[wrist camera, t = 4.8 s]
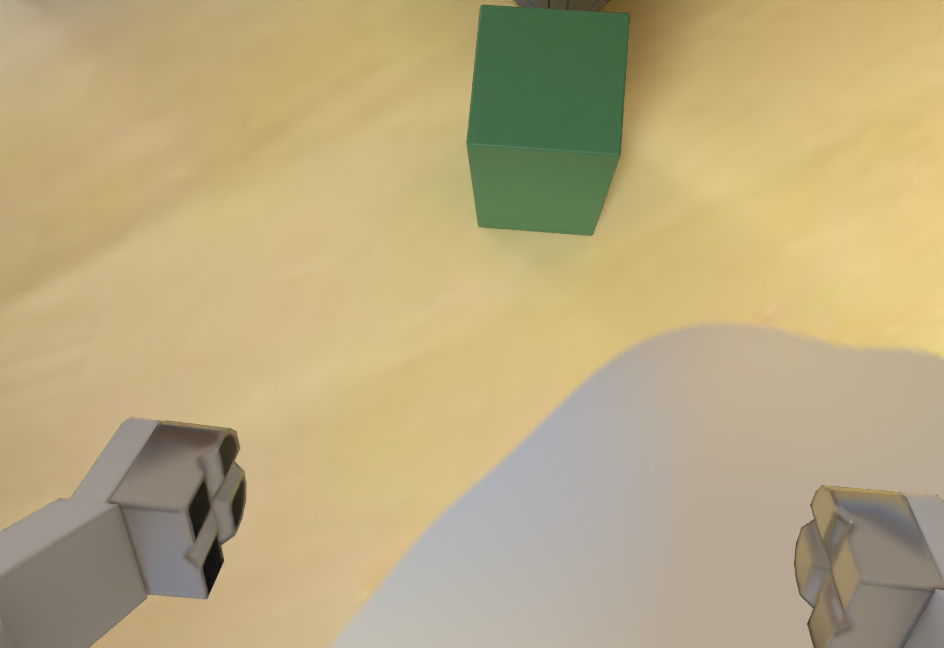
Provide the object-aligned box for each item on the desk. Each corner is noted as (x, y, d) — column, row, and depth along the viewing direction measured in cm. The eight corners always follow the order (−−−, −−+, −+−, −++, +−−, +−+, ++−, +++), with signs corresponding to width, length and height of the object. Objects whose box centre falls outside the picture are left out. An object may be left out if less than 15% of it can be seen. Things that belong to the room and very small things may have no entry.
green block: (478, 227, 35) (466, 144, 26) (488, 120, 35) (480, 3, 26) (592, 236, 34) (621, 155, 25) (600, 127, 35) (630, 12, 26)
